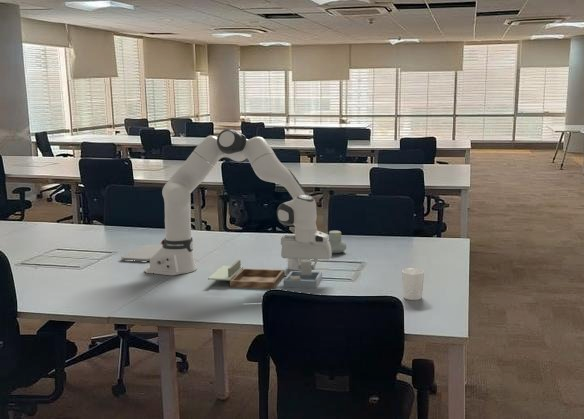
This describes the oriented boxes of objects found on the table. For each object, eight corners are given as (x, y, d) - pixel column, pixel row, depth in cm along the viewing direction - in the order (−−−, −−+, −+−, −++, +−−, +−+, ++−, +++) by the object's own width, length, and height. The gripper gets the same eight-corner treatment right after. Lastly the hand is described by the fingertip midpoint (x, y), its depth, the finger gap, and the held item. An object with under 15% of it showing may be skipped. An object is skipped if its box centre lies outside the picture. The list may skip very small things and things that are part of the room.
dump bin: (283, 288, 251) (283, 280, 251) (291, 277, 265) (290, 270, 264) (316, 289, 249) (316, 281, 248) (322, 279, 262) (322, 271, 262)
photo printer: (312, 270, 276) (311, 242, 273) (307, 272, 272) (306, 244, 270) (291, 267, 281) (290, 240, 278) (286, 270, 277) (285, 242, 275)
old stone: (290, 286, 252) (290, 278, 251) (290, 283, 256) (289, 276, 255) (300, 285, 252) (300, 278, 251) (300, 282, 256) (299, 275, 255)
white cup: (420, 293, 240) (421, 268, 238) (425, 300, 232) (426, 273, 231) (400, 294, 240) (400, 268, 238) (404, 301, 232) (404, 274, 230)
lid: (207, 279, 254) (207, 269, 253) (222, 266, 272) (222, 257, 271) (229, 280, 252) (229, 270, 251) (243, 267, 270) (242, 258, 269)
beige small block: (302, 272, 261) (301, 260, 260) (311, 272, 260) (311, 260, 259) (301, 274, 257) (300, 262, 256) (311, 274, 256) (310, 262, 255)
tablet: (175, 250, 319) (175, 245, 318) (150, 263, 294) (149, 259, 294) (146, 248, 323) (146, 244, 323) (118, 262, 299) (118, 257, 299)
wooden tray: (230, 288, 253) (229, 280, 252) (242, 275, 270) (242, 268, 270) (274, 290, 249) (274, 282, 249) (284, 276, 266) (284, 270, 266)
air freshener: (348, 253, 302) (348, 233, 300) (332, 255, 299) (332, 234, 297) (338, 248, 312) (337, 228, 310) (322, 250, 309) (322, 230, 307)
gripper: (278, 237, 255) (279, 270, 257) (329, 238, 251) (330, 272, 253) (282, 233, 261) (283, 266, 263) (332, 234, 257) (332, 268, 259)
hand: (306, 269), depth 258 cm, fingers closed on beige small block, 4 cm apart
